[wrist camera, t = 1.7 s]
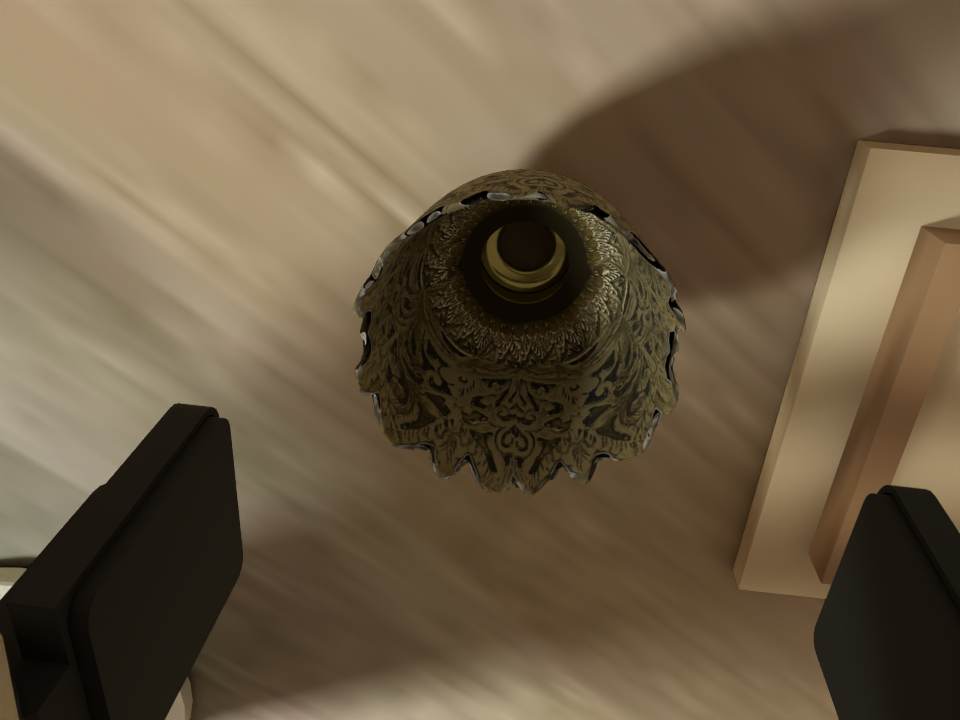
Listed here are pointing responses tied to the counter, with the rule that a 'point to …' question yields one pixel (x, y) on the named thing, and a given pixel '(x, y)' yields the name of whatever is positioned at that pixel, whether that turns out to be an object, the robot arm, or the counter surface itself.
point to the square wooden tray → (866, 372)
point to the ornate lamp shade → (519, 335)
